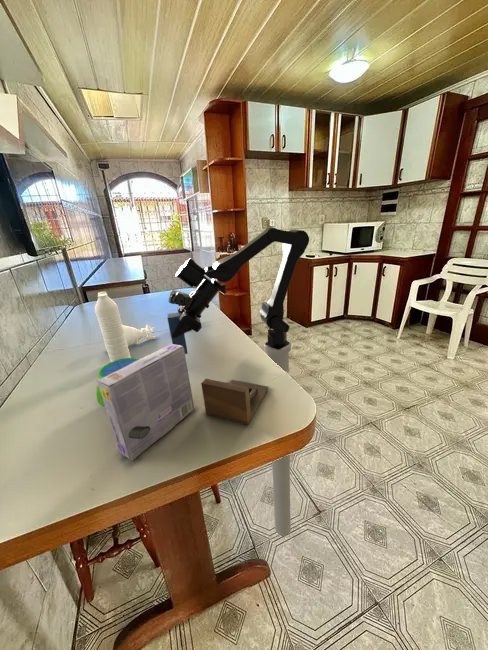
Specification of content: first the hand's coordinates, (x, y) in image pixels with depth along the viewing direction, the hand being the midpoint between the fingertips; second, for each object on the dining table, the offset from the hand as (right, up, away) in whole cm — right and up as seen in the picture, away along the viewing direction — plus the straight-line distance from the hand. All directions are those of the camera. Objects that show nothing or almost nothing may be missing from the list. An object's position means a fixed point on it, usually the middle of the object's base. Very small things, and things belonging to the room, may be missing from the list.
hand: (173, 334), depth 84 cm
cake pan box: (+4, -21, -23) cm, 31 cm away
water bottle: (-19, -10, +6) cm, 23 cm away
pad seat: (+21, -16, -16) cm, 31 cm away
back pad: (+2, -6, +3) cm, 7 cm away
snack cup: (-8, -17, -12) cm, 23 cm away
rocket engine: (-20, -5, +19) cm, 28 cm away
